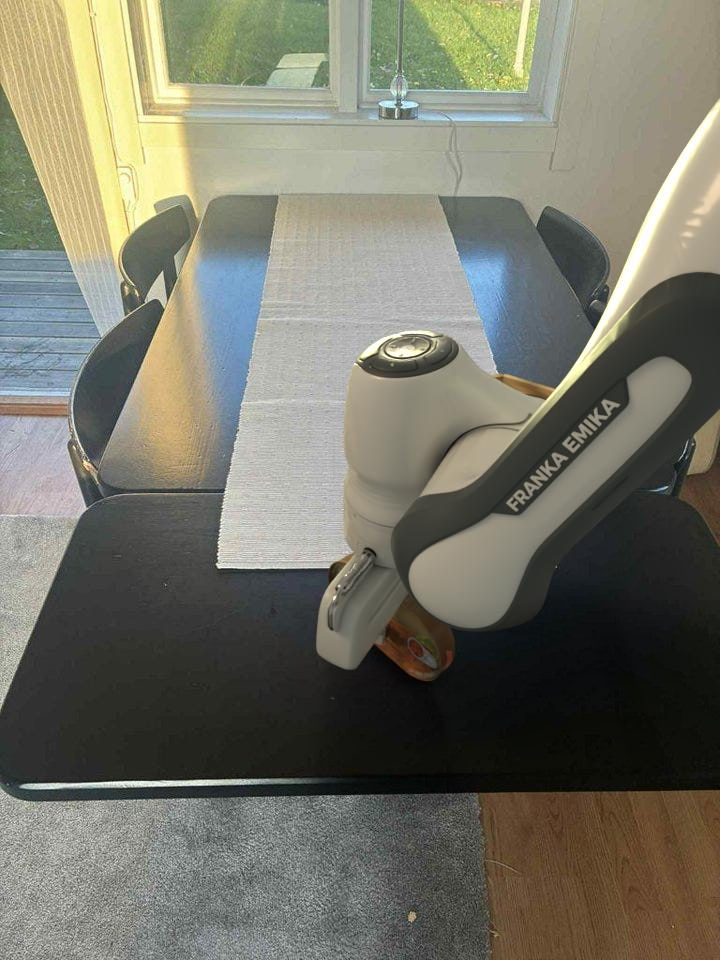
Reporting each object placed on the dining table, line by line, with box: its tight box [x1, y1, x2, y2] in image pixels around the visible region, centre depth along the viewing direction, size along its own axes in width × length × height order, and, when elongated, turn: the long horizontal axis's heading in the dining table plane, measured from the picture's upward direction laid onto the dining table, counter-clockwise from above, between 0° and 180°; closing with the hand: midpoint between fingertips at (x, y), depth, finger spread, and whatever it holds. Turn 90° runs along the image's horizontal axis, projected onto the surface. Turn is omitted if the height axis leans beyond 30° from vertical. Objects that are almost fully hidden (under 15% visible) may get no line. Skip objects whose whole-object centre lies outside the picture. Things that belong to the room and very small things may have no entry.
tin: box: [327, 551, 456, 682], centre depth 66 cm, size 15×3×8 cm, turn 43°
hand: (389, 620), depth 67 cm, fingers closed on tin, 3 cm apart
